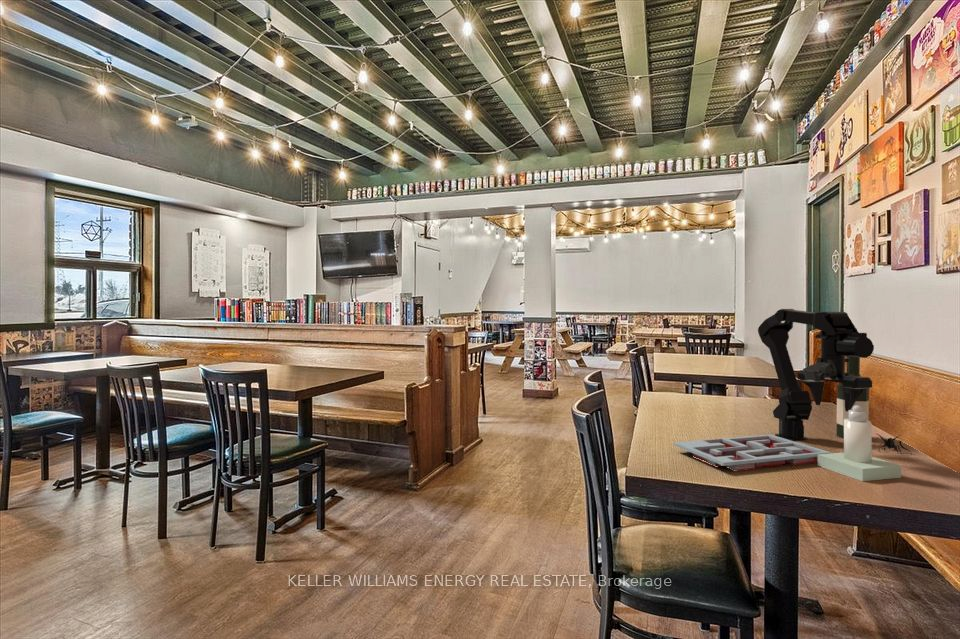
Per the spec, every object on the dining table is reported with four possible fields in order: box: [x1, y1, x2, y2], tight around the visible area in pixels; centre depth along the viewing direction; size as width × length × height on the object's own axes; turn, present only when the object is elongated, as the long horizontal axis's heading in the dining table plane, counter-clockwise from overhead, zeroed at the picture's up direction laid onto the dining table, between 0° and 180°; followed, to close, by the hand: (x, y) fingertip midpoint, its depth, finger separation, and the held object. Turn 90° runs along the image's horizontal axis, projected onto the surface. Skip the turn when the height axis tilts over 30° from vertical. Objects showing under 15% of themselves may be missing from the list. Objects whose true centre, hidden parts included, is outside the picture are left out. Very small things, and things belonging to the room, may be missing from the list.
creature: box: [875, 432, 913, 456], centre depth 140 cm, size 8×5×8 cm
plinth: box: [817, 451, 902, 482], centre depth 123 cm, size 12×12×3 cm
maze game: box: [673, 433, 832, 471], centre depth 135 cm, size 35×20×3 cm, turn 105°
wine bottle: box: [836, 356, 870, 439], centre depth 156 cm, size 8×8×30 cm
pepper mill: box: [843, 405, 873, 463], centre depth 123 cm, size 6×6×14 cm
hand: (832, 408), depth 139 cm, fingers open, 9 cm apart
